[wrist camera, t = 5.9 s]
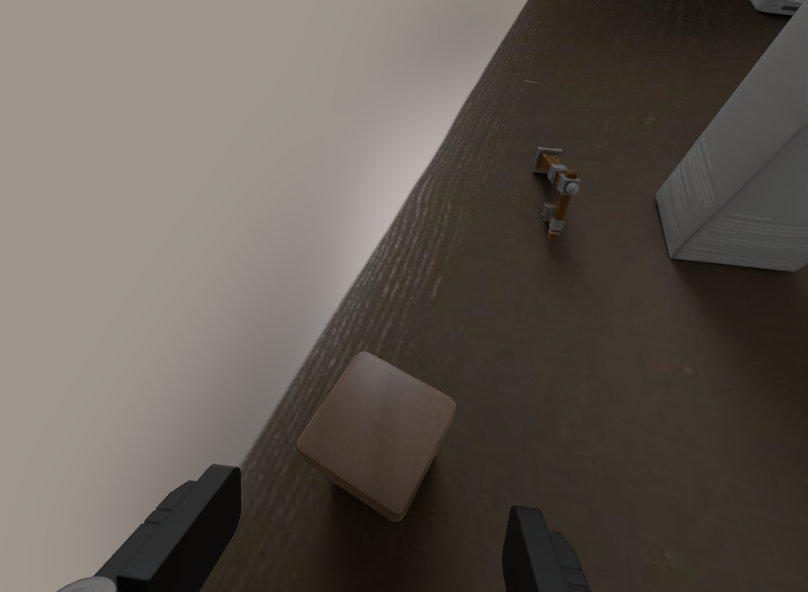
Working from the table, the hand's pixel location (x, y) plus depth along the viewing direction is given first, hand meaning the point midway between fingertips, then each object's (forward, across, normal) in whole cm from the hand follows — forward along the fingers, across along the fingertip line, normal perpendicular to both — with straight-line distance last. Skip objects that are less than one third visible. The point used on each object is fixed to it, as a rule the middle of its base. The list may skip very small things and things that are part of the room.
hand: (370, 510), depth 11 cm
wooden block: (+7, 0, +4) cm, 8 cm away
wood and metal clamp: (+21, -10, -10) cm, 25 cm away
